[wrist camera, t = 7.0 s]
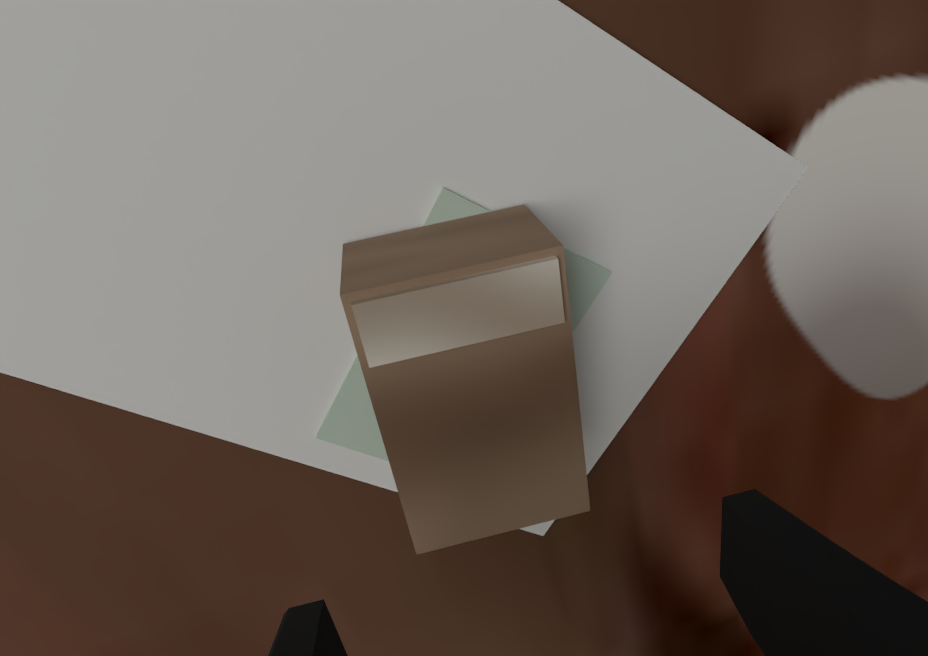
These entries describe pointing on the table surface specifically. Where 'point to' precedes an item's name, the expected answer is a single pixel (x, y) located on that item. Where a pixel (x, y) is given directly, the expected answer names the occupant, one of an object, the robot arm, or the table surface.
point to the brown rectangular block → (470, 372)
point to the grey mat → (341, 198)
